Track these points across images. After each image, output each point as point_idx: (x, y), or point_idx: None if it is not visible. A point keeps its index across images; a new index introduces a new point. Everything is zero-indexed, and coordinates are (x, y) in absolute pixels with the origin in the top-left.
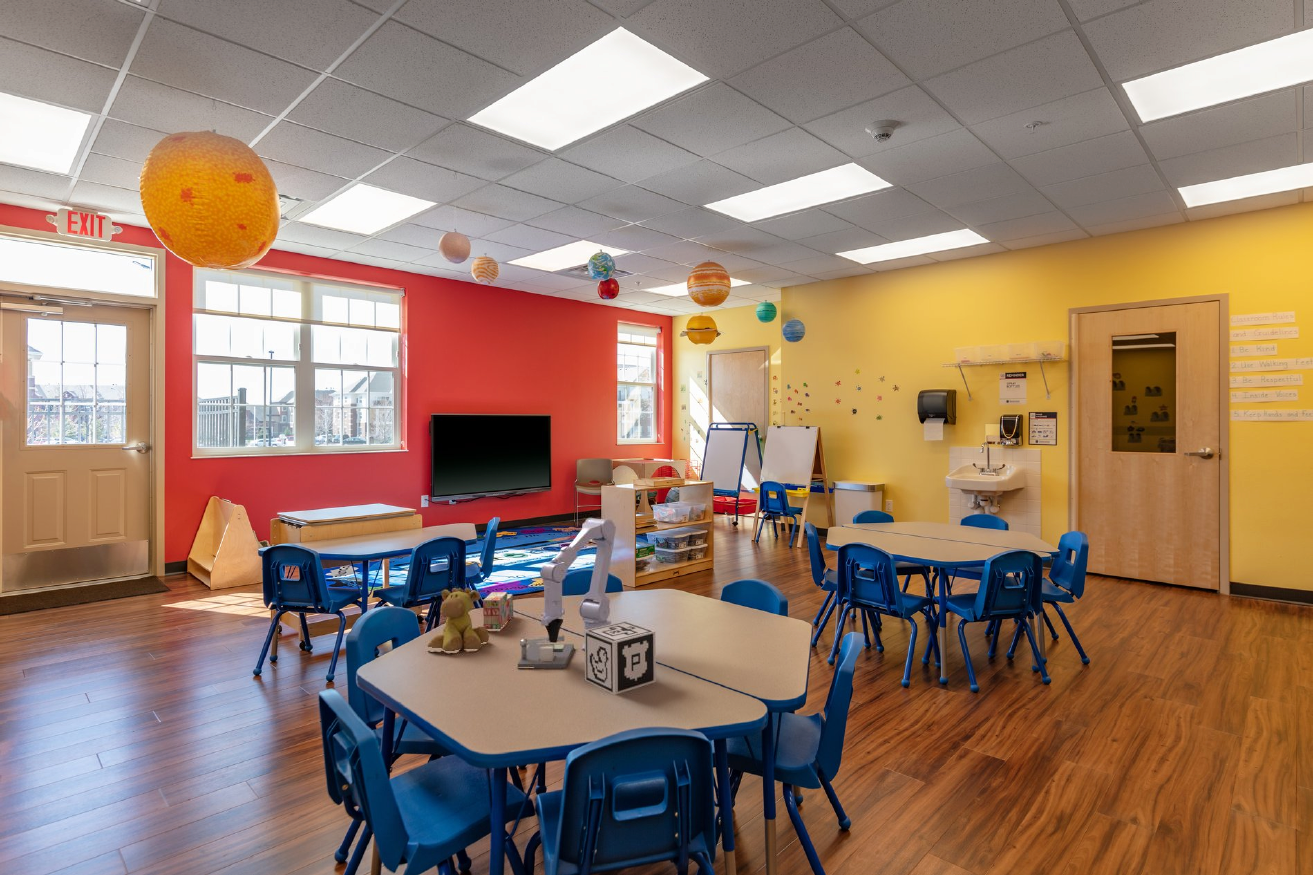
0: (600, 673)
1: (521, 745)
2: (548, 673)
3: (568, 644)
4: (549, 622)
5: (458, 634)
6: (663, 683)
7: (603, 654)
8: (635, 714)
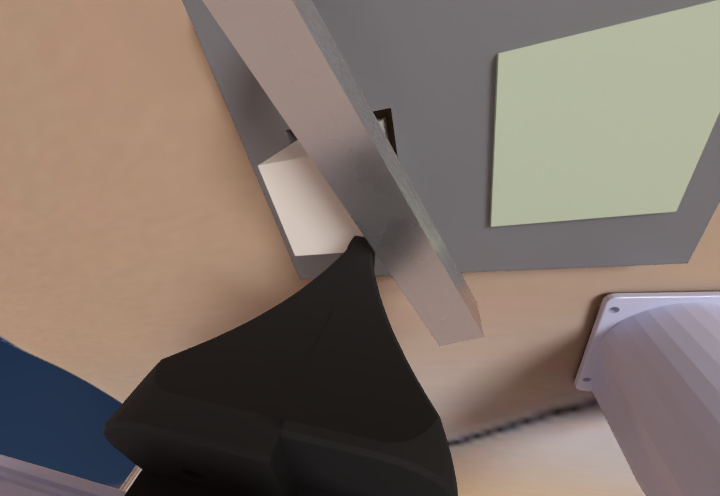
0: None
1: None
2: (229, 214)
3: (688, 231)
4: (77, 493)
5: None
6: None
7: (131, 474)
8: None
